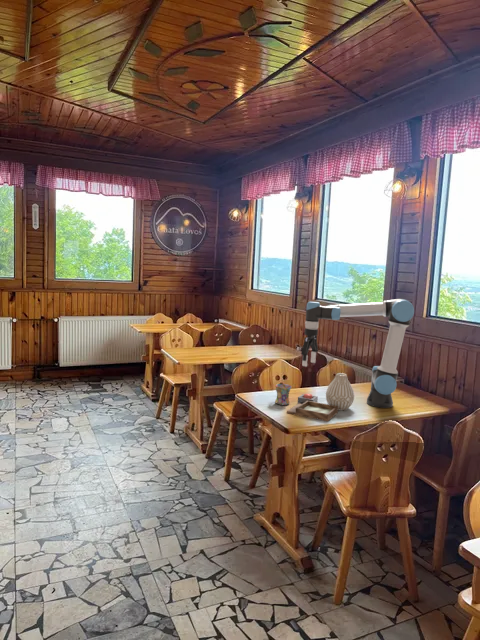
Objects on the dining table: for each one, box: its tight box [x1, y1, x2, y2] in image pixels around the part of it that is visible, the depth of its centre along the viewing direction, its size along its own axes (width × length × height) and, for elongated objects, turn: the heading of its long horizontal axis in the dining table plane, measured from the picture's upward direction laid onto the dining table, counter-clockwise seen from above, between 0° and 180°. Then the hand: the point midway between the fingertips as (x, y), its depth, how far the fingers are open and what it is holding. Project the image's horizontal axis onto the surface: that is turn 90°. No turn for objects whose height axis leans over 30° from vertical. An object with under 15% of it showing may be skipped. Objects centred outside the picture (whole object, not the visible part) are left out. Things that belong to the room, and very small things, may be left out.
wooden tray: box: [286, 401, 339, 422], centre depth 256 cm, size 23×18×4 cm
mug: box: [274, 383, 292, 406], centre depth 271 cm, size 12×9×11 cm
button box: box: [297, 393, 319, 404], centre depth 274 cm, size 9×9×4 cm
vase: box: [325, 372, 355, 411], centre depth 267 cm, size 16×16×20 cm
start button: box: [303, 393, 313, 399], centre depth 274 cm, size 5×5×4 cm
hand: (308, 364), depth 273 cm, fingers open, 13 cm apart
